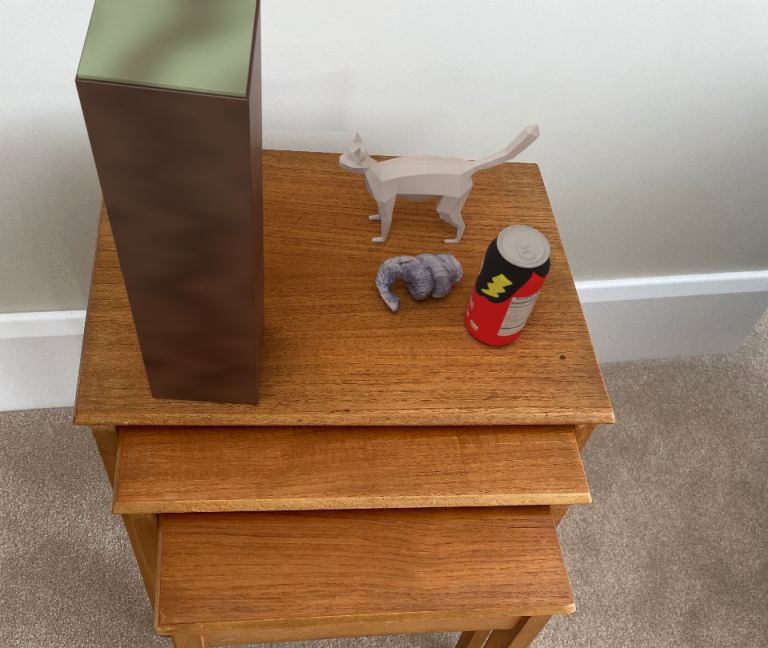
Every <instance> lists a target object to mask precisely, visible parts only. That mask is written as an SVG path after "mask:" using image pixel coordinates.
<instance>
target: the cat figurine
mask: <svg viewBox="0 0 768 648" xmlns="http://www.w3.org/2000/svg"><path fill="white" fill-rule="evenodd" d="M540 135H541V134H540V128H539V125H538V124H537V123H536V124H532V125H528V126H526V127H525V128H524V129H523V130H522V131H521V132H520V133H519V134H518V135H516V137H515V138H514V139H513V140H512V141H511V142H510V143H509V144H508V145H507V146H506V147H505V148H502V149H501V150H499V151H497V152H494V153H493V154H491V155H487V156H486V157H482V158H480V159H476V160H470V159H464V158H460V157H454V156H453V157H452V156H438V155H431V154H418V155H409V156H399V157H394V158H391V159H387V160H382V161H377V160H375V159H374V158H372V157H371V156H370V154H369V152H368V151H367V149H366V147H365V144H364V141H363V139H362V138H361V136H360V134H359V131H356V133H355V136H354V139H353V141H352V144H351V145H350V146H349V147H348V149H347V151H345V152H344V153H342V154H341V155H339V161H338V164H339V167H340V168H342V169H344V171H347V172H349V173H351V174H357V175H361V176H362V178H363V181H364V185H365V187H366V189H367V192H368V194H369V195H370V196H371V197H372V198H373V200H374V201H375V202H376V205H377V214H374V215H368V220H369V221H380V223H381V226H380V227H381V236H378V237H372V238H371V240H372V243H385V242H386V240H387V237H388V235H389V231H390V228H391V225H392V222H393V211H394V207H395V202H396V198H398V199H401V200H402V199H403V200H405V201H412V202H415V203H423V202H427V201H430V200H434V199H438V200H437V204H436V207H435V211H436V212H437V213H438V215H439V220H443V221H444V222H445V223H447V224H449V225H450V226H452V227H454V228H456V237H455V238H454V239H444V244H459V243H460V241H461V239H462V237H463V235H464V232H465V229H466V224H465V221H464V219H463V216H462V214H461V211H462V210H463V207H464V205H465V203H466V201H467V200H468V197H469V195H470V192H471V191H472V188H473V186H474V183H473V179H472V175H474V174H475V173H476V172H479V171H482V170H485V169H489V168H493V167H496V166H499V165H501V164H504V163H506V162H510V161H511V160H514V159H515V158H516V157H517V156H519V155H520V154H521V153H522V152H524V151H525V150H526V149H527V148H528V147H529V146H531V145H532V144H533V143H534V142H536V141H537V140H538V139H539V137H540Z"/></svg>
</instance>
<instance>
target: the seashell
mask: <svg viewBox="0 0 768 648" xmlns="http://www.w3.org/2000/svg"><path fill="white" fill-rule="evenodd" d="M463 276H464V271H463V265H462V263H461V262H460V261H459V260H458V258H456V257H455V256H454V254H453V253H447V254H445V253H443V252H438V253H436V254H431V253H422V254H417V255H415V256H412V255H411V256H410V255H398V256H394V257H388V258H387V257H386V258H385V260H383V261H382V263H381V264H380V265H379V268H378V271H377V272H376V274H375V279H374V284H375V287H376V288H377V291H378V292H379V294H380V297H381V298H382V300H383V301H384V303H386V305H387V306H388V308H389V309H391V311H392V312H397V311H399V310H400V306H399V303H400V302H401V299H402V298H401V297H399V296H397V295H396V294H394V292H393V290H392V289H391V288H392V286H393V285H394V284H395V283H396V282H397V281H398V280H403V281H404V282H405V287H406V289H407V292H408V293H409V294H410V296H411V297H412V298H413V299H415V300H417V301H418V300H419V301H420V300H425V299H427V298H428V297H430V296H432V298H435V299H436V298H437V299H440V298H443V297H445V296H447V295H448V294H449V293H450V292H451V289H452V287H453V286H454V285H455V284H457V283H459V282H460V281H461V279H462V278H463Z"/></svg>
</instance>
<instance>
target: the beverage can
mask: <svg viewBox="0 0 768 648" xmlns="http://www.w3.org/2000/svg"><path fill="white" fill-rule="evenodd" d="M550 246H551V245H550V242H549V241H548V239H547V238H546V236H545V235H544V234H543V233H541V232H540V231H539V230H538V229H536V228H534V227H531V226H528V225H524V224H523V225H522V224H515V225H510V226H507V227H505V228H503V229H502V230H501V231H500V232H499V233H498V236H497V237H495V238H494V239H492V241H490V243H489V245H488V246H487V248H486V251H485V254H484V257H483V260H482V262H481V265H480V268H479V270H478V274H477V277H476V280H475V283H474V285H473V289H472V292H471V295H470V298H469V299H468V300H469V301H468V304H467V307H466V309H465V312H464V321H465V322H464V323H465V326H466V328H467V330H468V331H469V333H470V334H471V335H472V336H473V337H474V338H475V339H476V340H478V341H480V342H482V343H483V344H486V345H489V346H496V347H499V346H505V345H508V344H511V343H513V342H514V341H516V340H517V339H518V338H519V337H520V336H521V334H522V332H523V330H524V328H525V325H526V323H527V321H528V319H529V317H530V315H531V313H532V310H533V308H534V305H535V304H536V301H537V299H538V297H539V295H540V292H541V291H542V288H543V286H544V284H545V282H546V280H547V277H548V275H549V273H550V270H551V258H550V254H551V247H550Z"/></svg>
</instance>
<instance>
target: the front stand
mask: <svg viewBox="0 0 768 648" xmlns="http://www.w3.org/2000/svg"><path fill="white" fill-rule="evenodd" d="M261 2H262V1H261V0H94V3H93V7H92V11H91V15H90V19H89V22H88V27H87V32H86V34H85V39H84V41H83V45H82V46H83V47H82V50H81V54H80V58H79V61H78V65H77V70H76V73H75V77H74V84H75V88H76V91H77V92H76V93H77V95H78V100H79V104H80V108H81V113H82V117H83V120H84V125H85V128H86V132H87V138H88V141H89V145H90V149H91V153H92V157H93V162H94V166H95V171H96V173H97V177H98V182H99V185H100V190H101V193H102V198H103V203H104V206H105V210H106V214H107V219H108V223H109V226H110V230H111V235H112V240H113V243H114V246H115V251H116V256H117V259H118V263H119V268H120V271H121V276H122V280H123V283H124V287H125V292H126V296H127V300H128V304H129V308H130V312H131V316H132V321H133V325H134V328H135V333H136V336H137V341H138V345H139V349H140V353H141V357H142V361H143V365H144V369H145V374H146V377H147V382H148V387H149V390H150V394H151V398H153V399H165V400H178V401H179V400H180V401H191V402H195V401H196V402H209V403H221V404H234V405H235V404H238V405H250V406H251V405H252V406H258V405H259V394H260V393H259V392H260V384H261V383H260V382H261V370H262V359H263V348H264V347H263V345H264V334H265V261H264V260H265V259H264V255H265V254H264V253H265V251H264V250H265V249H264V248H265V247H264V182H263V181H264V176H263V175H264V173H263V172H264V170H263V166H264V165H263V104H262V103H263V99H262V98H263V95H262V93H263V91H262V89H263V88H262V87H263V86H262V85H263V84H262V14H261V13H262V12H261V11H262V8H261Z"/></svg>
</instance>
